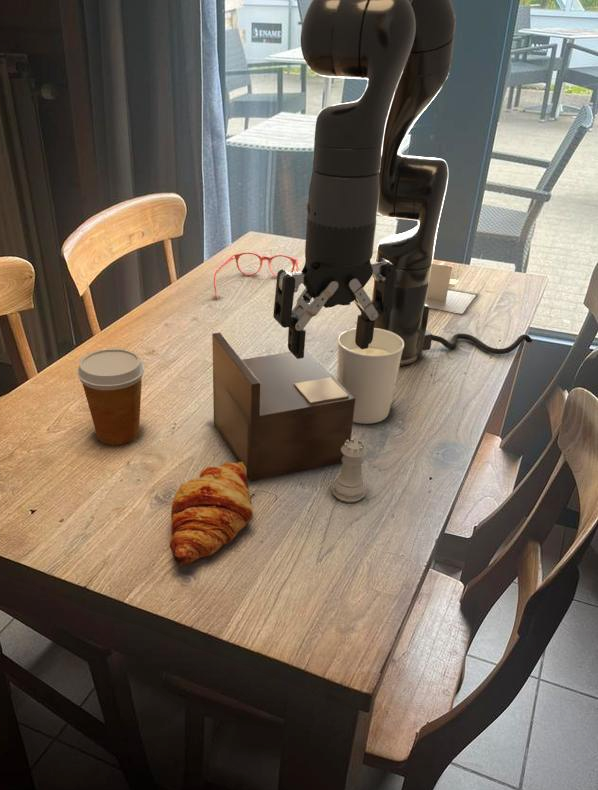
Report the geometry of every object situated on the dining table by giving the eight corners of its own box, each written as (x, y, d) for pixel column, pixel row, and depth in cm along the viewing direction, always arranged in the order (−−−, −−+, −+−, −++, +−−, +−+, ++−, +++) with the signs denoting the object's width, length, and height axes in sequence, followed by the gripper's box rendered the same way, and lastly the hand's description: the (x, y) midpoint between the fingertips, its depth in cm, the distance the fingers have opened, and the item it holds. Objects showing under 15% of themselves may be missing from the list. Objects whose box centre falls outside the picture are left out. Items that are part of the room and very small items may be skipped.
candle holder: (398, 401, 117) (408, 332, 110) (388, 431, 110) (398, 359, 102) (338, 391, 120) (345, 323, 113) (325, 420, 112) (331, 349, 105)
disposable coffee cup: (79, 425, 111) (68, 353, 104) (139, 412, 114) (132, 342, 107) (95, 457, 104) (85, 383, 97) (158, 442, 107) (152, 370, 100)
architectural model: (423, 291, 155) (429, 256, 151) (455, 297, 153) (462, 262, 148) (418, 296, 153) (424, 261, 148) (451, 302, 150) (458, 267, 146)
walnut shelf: (303, 407, 115) (308, 319, 107) (348, 461, 103) (359, 366, 94) (213, 423, 111) (212, 333, 102) (249, 481, 99) (251, 384, 90)
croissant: (220, 491, 103) (194, 445, 100) (282, 476, 98) (257, 426, 95) (161, 589, 86) (128, 537, 83) (232, 576, 81) (199, 520, 78)
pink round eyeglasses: (303, 278, 161) (305, 256, 158) (291, 306, 149) (293, 282, 146) (228, 272, 164) (228, 250, 161) (210, 298, 152) (209, 275, 149)
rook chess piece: (364, 506, 95) (371, 455, 90) (330, 501, 96) (335, 451, 91) (366, 486, 98) (372, 436, 94) (333, 482, 99) (338, 432, 94)
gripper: (294, 230, 74) (287, 373, 83) (417, 217, 77) (397, 356, 87) (268, 210, 79) (264, 346, 89) (383, 199, 83) (368, 331, 93)
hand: (330, 351), depth 88 cm, fingers open, 8 cm apart
